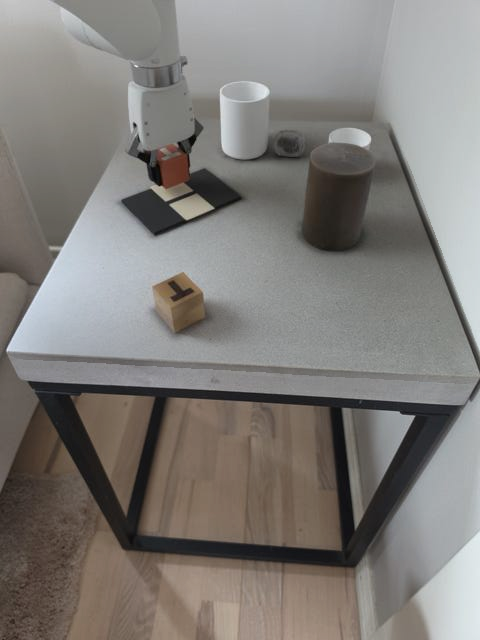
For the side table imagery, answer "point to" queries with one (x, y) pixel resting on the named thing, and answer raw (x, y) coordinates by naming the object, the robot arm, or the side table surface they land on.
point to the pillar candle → (337, 195)
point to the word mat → (180, 201)
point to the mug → (244, 119)
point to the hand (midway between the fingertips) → (170, 176)
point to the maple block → (179, 301)
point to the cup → (351, 137)
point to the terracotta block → (172, 166)
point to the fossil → (289, 143)
